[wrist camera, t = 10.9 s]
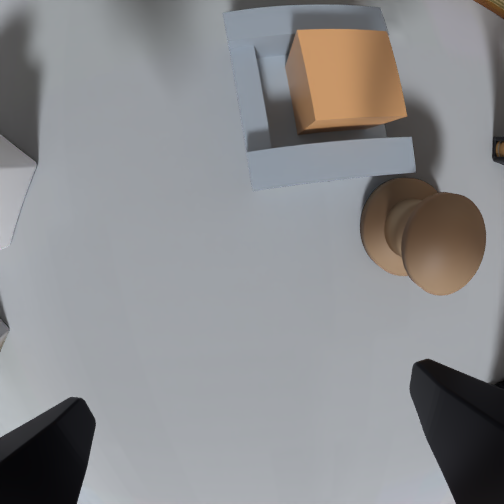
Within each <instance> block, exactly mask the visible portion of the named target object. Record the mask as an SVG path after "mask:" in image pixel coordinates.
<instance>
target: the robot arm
mask: <svg viewBox="0 0 504 504" xmlns="http://www.w3.org/2000/svg"><path fill="white" fill-rule="evenodd" d="M410 394H411V397H412V400H413V402H414V405H415V408H416V411H417V413H418V416H419V419H420V422H421V425H422V428H423V431H424V433H425V436H426V439H427V441H428V443H429V445H430V447H431V450H432V452H433V454H434V456H435V458H436V460H437V462H438V464H439V466H440V469H441V471H442V473H443V475H444V477H445V480H446V482H447V484H448V486H449V489H450V491H451V493H452V495H453V498H454V500H455V502H456V504H504V381H503V382H501V383H499V384H497V385H495V386H494V385H491V384H489V383H486V382H484V381H481V380H479V379H476V378H474V377H471V376H469V375H467V374H464V373H462V372H459V371H457V370H454V369H452V368H450V367H447V366H445V365H442V364H440V363H438V362H435V361H433V360H430V359H424V360H421V361H418V362H416V363H414V365H413V368H412V375H411V381H410ZM95 426H96V422H95V418H94V416H93V414H92V413H91V411H90V409H89V407H88V406H87V404H86V402H85V400H83V399H82V398H78V397H70V398H68V399H66V400H64V401H63V402H61V403H59V404H58V405H56V406H54V407H53V408H51V409H49V410H48V411H46V412H44V413H42V414H41V415H39V416H37V417H36V418H34V419H32V420H30V421H29V422H27V423H25V424H23V425H22V426H20V427H18V428H16V429H15V430H13V431H11V432H9V433H8V434H6V435H4V436H2V437H0V504H77V501H78V497H79V494H80V490H81V487H82V483H83V480H84V476H85V473H86V469H87V465H88V461H89V455H90V450H91V445H92V440H93V436H94V431H95Z"/></svg>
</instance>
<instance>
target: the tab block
mask: <svg viewBox="0 0 504 504" xmlns="http://www.w3.org/2000/svg"><path fill="white" fill-rule="evenodd" d="M285 69H286V74H287V79H288V85H289V90H290V95H291V101H292V106H293V112H294V117H295V123H296V129H297V135H302V134H312V133H322V132H333V131H346V130H362V129H369V128H372V127H375V126H378V125H381V124H384V123H387V122H391V121H394V120H397V119H400V118H404V117H407V113H406V107H405V102H404V97H403V92H402V87H401V83H400V79H399V74H398V70H397V66H396V62H395V58H394V55H393V51H392V47H391V44H390V40H389V37H388V34H387V31H377V30H359V29H307V30H297V31H296V34H295V37H294V40H293V43H292V47H291V50H290V53H289V56H288V59H287V62H286V66H285Z"/></svg>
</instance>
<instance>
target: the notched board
mask: <svg viewBox="0 0 504 504" xmlns="http://www.w3.org/2000/svg"><path fill="white" fill-rule="evenodd" d="M223 17H224V23H225V29H226V35H227V40H228V45H229V50H230V56H231V62H232V68H233V74H234V80H235V86H236V92H237V98H238V104H239V110H240V116H241V122H242V128H243V134H244V140H245V146H246V154H247V160H248V166H249V172H250V179H251V185H252V191H258V190H265V189H272V188H278V187H286V186H293V185H300V184H308V183H316V182H324V181H332V180H341V179H350V178H359V177H369V176H379V175H390V174H402V173H415V172H416V166H415V158H414V150H413V143H412V137H394V138H387V135H386V129H385V123H384V124H381V125H378V126H375V127H372V128H369V129H362V130H346V131H333V132H322V133H312V134H302V135H297V129H296V123H295V117H294V112H293V106H292V101H291V95H290V90H289V85H288V79H287V74H286V69H285V66H286V62H287V59H288V56H289V53H290V50H291V47H292V43H293V40H294V37H295V34H296V31H297V30H307V29H359V30H377V31H387V34H388V35H389V33H388V30H387V27H386V23H385V20H384V17H383V14H382V11H381V8H380V7H369V6H355V5H326V4H316V5H286V6H272V7H261V8H252V9H244V10H237V11H230V12H224V13H223Z"/></svg>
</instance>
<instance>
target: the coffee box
mask: <svg viewBox="0 0 504 504" xmlns="http://www.w3.org/2000/svg"><path fill="white" fill-rule="evenodd" d="M8 333H9V328H8V327H7V326H6V324H5V323H4V322H3V321H2V320H1V318H0V351H1V349H2V346H3V344H4V342H5V339H6V337H7V335H8Z"/></svg>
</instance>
